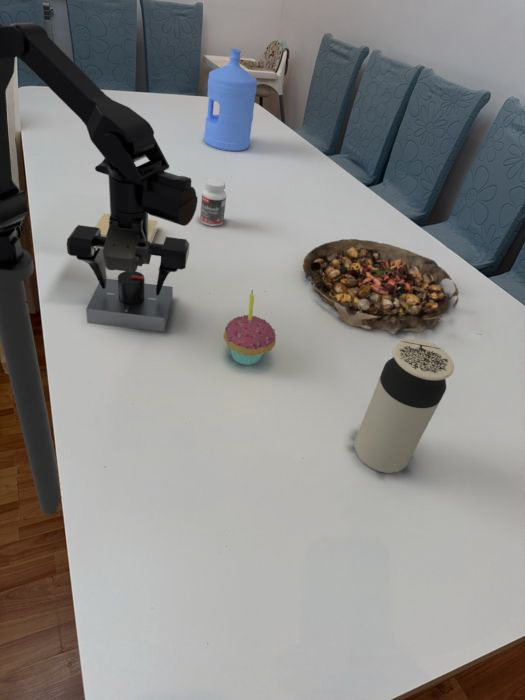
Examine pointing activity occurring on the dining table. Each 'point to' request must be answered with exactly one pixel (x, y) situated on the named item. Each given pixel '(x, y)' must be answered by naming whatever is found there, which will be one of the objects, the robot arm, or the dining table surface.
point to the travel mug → (402, 404)
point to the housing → (104, 227)
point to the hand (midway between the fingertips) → (131, 290)
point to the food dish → (379, 285)
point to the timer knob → (131, 287)
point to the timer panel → (130, 308)
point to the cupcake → (249, 337)
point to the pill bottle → (213, 202)
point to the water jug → (230, 106)
